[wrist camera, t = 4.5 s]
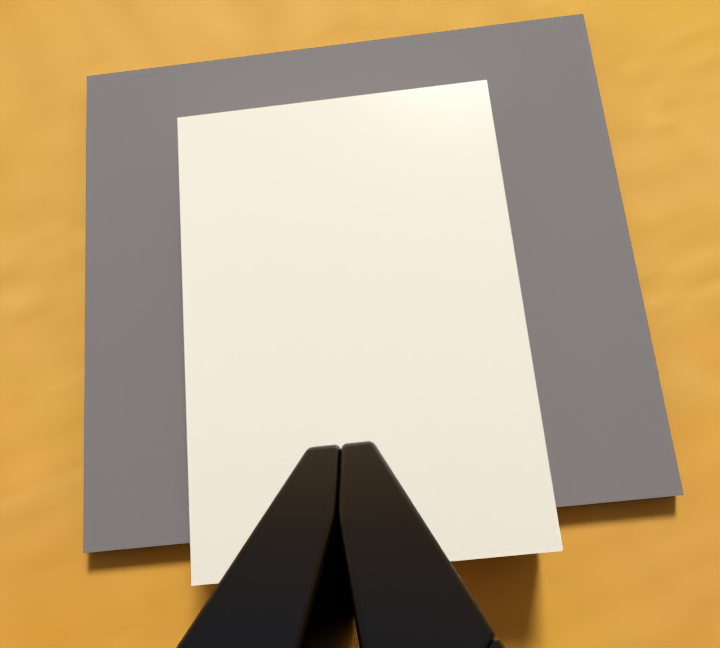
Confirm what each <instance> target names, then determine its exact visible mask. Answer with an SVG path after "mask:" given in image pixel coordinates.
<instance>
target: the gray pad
mask: <svg viewBox="0 0 720 648" xmlns="http://www.w3.org/2000/svg"><path fill="white" fill-rule="evenodd" d="M481 80H487V84H488V91H489V97H490V103H491V109H492V115H493V121H494V128H495V134H496V140H497V146H498V152H499V158H500V165H501V171H502V177H503V183H504V189H505V196H506V202H507V208H508V214H509V220H510V226H511V233H512V239H513V245H514V251H515V257H516V263H517V270H518V276H519V282H520V288H521V294H522V300H523V307H524V313H525V319H526V325H527V331H528V337H529V344H530V350H531V356H532V362H533V368H534V374H535V381H536V387H537V393H538V399H539V405H540V411H541V418H542V424H543V430H544V436H545V442H546V448H547V455H548V461H549V467H550V473H551V479H552V485H553V492H554V498H555V504H556V507H565V506H575V505H585V504H596V503H606V502H616V501H627V500H637V499H647V498H658V497H668V496H678V495H683V490H682V485H681V480H680V476H679V471H678V466H677V461H676V456H675V452H674V447H673V442H672V437H671V433H670V428H669V423H668V418H667V413H666V409H665V404H664V399H663V394H662V389H661V385H660V380H659V375H658V370H657V365H656V361H655V356H654V351H653V346H652V342H651V337H650V332H649V327H648V322H647V318H646V313H645V308H644V303H643V298H642V294H641V289H640V284H639V279H638V274H637V270H636V265H635V260H634V255H633V251H632V246H631V241H630V236H629V231H628V227H627V222H626V217H625V212H624V207H623V203H622V198H621V193H620V188H619V183H618V179H617V174H616V169H615V164H614V160H613V155H612V150H611V145H610V140H609V136H608V131H607V126H606V121H605V116H604V112H603V107H602V102H601V97H600V92H599V88H598V83H597V78H596V73H595V69H594V64H593V59H592V54H591V49H590V45H589V40H588V35H587V30H586V25H585V21H584V16H583V14H579V15H571V16H563V17H555V18H547V19H539V20H531V21H523V22H515V23H507V24H499V25H491V26H483V27H475V28H467V29H459V30H451V31H443V32H435V33H427V34H419V35H412V36H404V37H396V38H388V39H380V40H372V41H364V42H356V43H348V44H340V45H332V46H324V47H316V48H308V49H300V50H292V51H284V52H276V53H268V54H260V55H253V56H245V57H237V58H229V59H221V60H213V61H205V62H197V63H189V64H181V65H173V66H165V67H157V68H149V69H141V70H133V71H125V72H117V73H109V74H101V75H94V76H87V127H86V263H85V399H84V535H83V553H90V552H100V551H110V550H121V549H131V548H141V547H152V546H162V545H172V544H183V543H190V520H189V487H188V454H187V421H186V388H185V356H184V323H183V290H182V257H181V224H180V191H179V158H178V126H177V118H179V117H187V116H195V115H203V114H211V113H219V112H228V111H236V110H244V109H252V108H260V107H268V106H277V105H285V104H293V103H301V102H309V101H317V100H326V99H334V98H342V97H350V96H358V95H366V94H374V93H383V92H391V91H399V90H407V89H415V88H423V87H432V86H440V85H448V84H456V83H464V82H472V81H481Z"/></svg>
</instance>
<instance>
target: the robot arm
mask: <svg viewBox="0 0 720 648" xmlns="http://www.w3.org/2000/svg"><path fill="white" fill-rule="evenodd" d="M355 623H356V629H357V635H358V641H359V646H360V648H505V646H504V645H503V643H502V641H501V640H499V639H497V636H496V633H495V631H494V630H493V628H492V626H491V625H490V623H489V622H488V620H487V619H486V617H485V615H484V614H483V612H482V611H481V609H480V608H479V606H478V605H477V603H476V601H475V600H474V598H473V597H472V595H471V594H470V592H469V590H468V589H467V587H466V586H465V584H464V583H463V581H462V579H461V578H460V576H459V575H458V573H457V572H456V570H455V568H454V567H453V565H452V564H451V562H450V561H449V559H448V558H447V556H446V554H445V553H444V551H443V550H442V548H441V547H440V545H439V543H438V542H437V540H436V539H435V537H434V536H433V534H432V532H431V531H430V529H429V528H428V526H427V525H426V523H425V521H424V520H423V518H422V517H421V515H420V514H419V512H418V511H417V509H416V507H415V506H414V504H413V503H412V501H411V500H410V498H409V496H408V495H407V493H406V492H405V490H404V489H403V487H402V485H401V484H400V482H399V481H398V479H397V478H396V476H395V475H394V473H393V471H392V470H391V468H390V467H389V465H388V464H387V462H386V460H385V459H384V457H383V456H382V454H381V453H380V451H379V449H378V448H377V446H376V445H375V444H374V443H373V442H371V441H364V442H354V443H346V444H344V445H343V446H342V448H340V447H339V446H338V445H324V446H314V447H310V448H308V449H307V450H306V451H305V453H304V454H303V456H302V457H301V459H300V460H299V462H298V463H297V465H296V467H295V468H294V470H293V471H292V473H291V474H290V476H289V477H288V479H287V480H286V482H285V483H284V485H283V486H282V488H281V489H280V491H279V492H278V494H277V495H276V497H275V498H274V500H273V501H272V503H271V505H270V506H269V508H268V509H267V511H266V512H265V514H264V515H263V517H262V518H261V520H260V521H259V523H258V524H257V526H256V527H255V529H254V530H253V532H252V533H251V535H250V536H249V538H248V540H247V541H246V543H245V544H244V546H243V547H242V549H241V550H240V552H239V553H238V555H237V556H236V558H235V559H234V561H233V562H232V564H231V565H230V567H229V568H228V570H227V571H226V573H225V574H224V576H223V578H222V579H221V581H220V582H219V584H218V585H217V587H216V588H215V590H214V591H213V593H212V594H211V596H210V597H209V599H208V600H207V602H206V603H205V605H204V606H203V608H202V609H201V611H200V612H199V614H198V616H197V617H196V619H195V620H194V622H193V623H192V625H191V626H190V628H189V629H188V631H187V632H186V634H185V635H184V637H183V638H182V640H181V641H180V643H179V644H178V646H177V647H176V648H354V641H355Z"/></svg>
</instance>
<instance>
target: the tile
mask: <svg viewBox="0 0 720 648" xmlns="http://www.w3.org/2000/svg"><path fill="white" fill-rule="evenodd" d="M177 126H178V158H179V191H180V224H181V257H182V290H183V323H184V356H185V388H186V421H187V454H188V487H189V520H190V553H191V586H195V585H206V584H216V583H219V582H220V581H221V579H222V578H223V576H224V574H225V573H226V571H227V570H228V568H229V567H230V565H231V564H232V562H233V561H234V559H235V558H236V556H237V555H238V553H239V552H240V550H241V549H242V547H243V546H244V544H245V543H246V541H247V540H248V538H249V536H250V535H251V533H252V532H253V530H254V529H255V527H256V526H257V524H258V523H259V521H260V520H261V518H262V517H263V515H264V514H265V512H266V511H267V509H268V508H269V506H270V505H271V503H272V501H273V500H274V498H275V497H276V495H277V494H278V492H279V491H280V489H281V488H282V486H283V485H284V483H285V482H286V480H287V479H288V477H289V476H290V474H291V473H292V471H293V470H294V468H295V467H296V465H297V463H298V462H299V460H300V459H301V457H302V456H303V454H304V453H305V451H306V450H307V449H308V448H310V447H314V446H324V445H338V446H339V447H340V448H342V446H343V445H344V444H346V443H354V442H364V441H371V442H373V443H374V444H375V445H376V446H377V448H378V449H379V451H380V453H381V454H382V456H383V457H384V459H385V460H386V462H387V464H388V465H389V467H390V468H391V470H392V471H393V473H394V475H395V476H396V478H397V479H398V481H399V482H400V484H401V485H402V487H403V489H404V490H405V492H406V493H407V495H408V496H409V498H410V500H411V501H412V503H413V504H414V506H415V507H416V509H417V511H418V512H419V514H420V515H421V517H422V518H423V520H424V521H425V523H426V525H427V526H428V528H429V529H430V531H431V532H432V534H433V536H434V537H435V539H436V540H437V542H438V543H439V545H440V547H441V548H442V550H443V551H444V553H445V554H446V556H447V558H448V559H449V561H461V560H471V559H482V558H492V557H503V556H514V555H524V554H535V553H545V552H556V551H563V547H562V541H561V535H560V529H559V522H558V516H557V510H556V504H555V498H554V492H553V485H552V479H551V473H550V467H549V461H548V455H547V448H546V442H545V436H544V430H543V424H542V418H541V411H540V405H539V399H538V393H537V387H536V381H535V374H534V368H533V362H532V356H531V350H530V344H529V337H528V331H527V325H526V319H525V313H524V307H523V300H522V294H521V288H520V282H519V276H518V270H517V263H516V257H515V251H514V245H513V239H512V233H511V226H510V220H509V214H508V208H507V202H506V196H505V189H504V183H503V177H502V171H501V165H500V158H499V152H498V146H497V140H496V134H495V128H494V121H493V115H492V109H491V103H490V97H489V91H488V84H487V80H481V81H472V82H464V83H456V84H448V85H440V86H432V87H423V88H415V89H407V90H399V91H391V92H383V93H374V94H366V95H358V96H350V97H342V98H334V99H326V100H317V101H309V102H301V103H293V104H285V105H277V106H268V107H260V108H252V109H244V110H236V111H228V112H219V113H211V114H203V115H195V116H187V117H179V118H177Z"/></svg>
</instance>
